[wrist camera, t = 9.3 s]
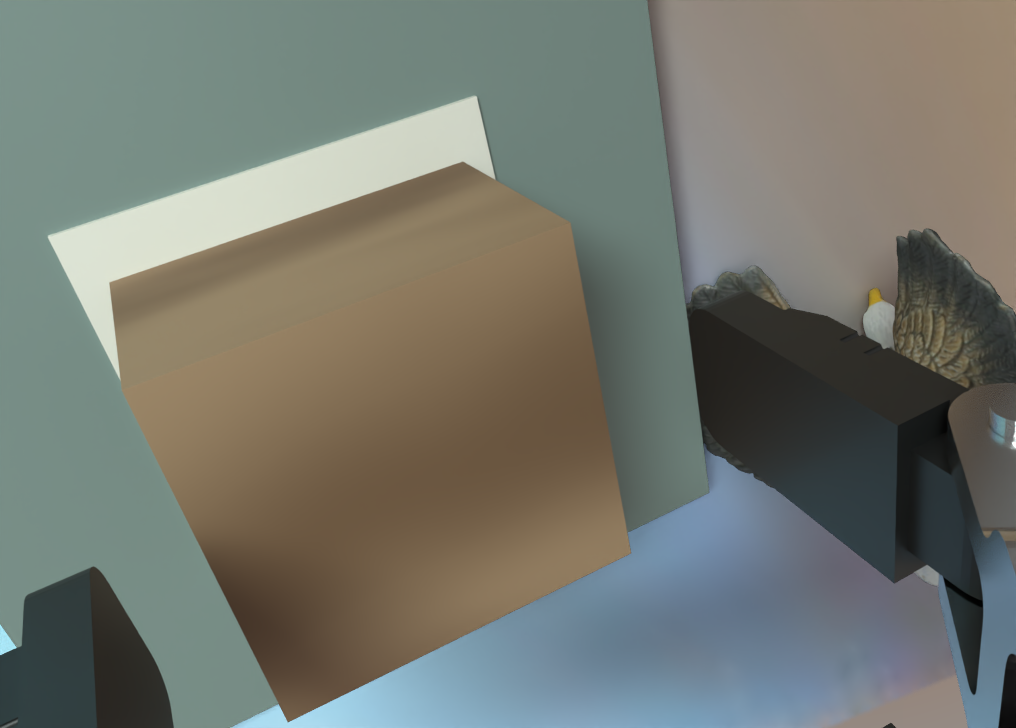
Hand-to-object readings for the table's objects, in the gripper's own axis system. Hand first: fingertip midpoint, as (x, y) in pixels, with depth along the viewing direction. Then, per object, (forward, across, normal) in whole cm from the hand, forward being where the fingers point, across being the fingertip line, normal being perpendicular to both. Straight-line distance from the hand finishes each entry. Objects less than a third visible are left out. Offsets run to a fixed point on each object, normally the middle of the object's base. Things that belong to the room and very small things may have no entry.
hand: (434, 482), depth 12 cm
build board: (+6, 0, 0) cm, 6 cm away
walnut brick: (+5, 0, +1) cm, 5 cm away
